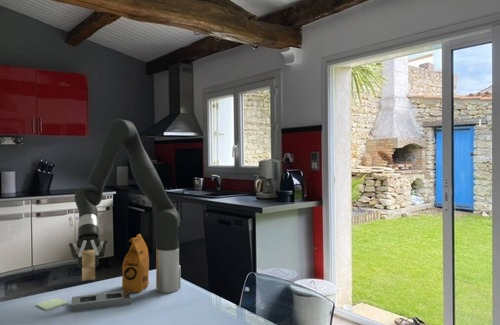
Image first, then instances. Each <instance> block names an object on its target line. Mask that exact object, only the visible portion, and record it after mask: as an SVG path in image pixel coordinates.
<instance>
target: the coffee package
mask: <svg viewBox="0 0 500 325" xmlns="http://www.w3.org/2000/svg"><path fill="white" fill-rule="evenodd" d="M128 242H130V243H131V245H130V247H129V250H128V252H127V253H126V254H125V256H124V259H123V262H122V265H121V266H122V267H121V268H122V280H121V281H122V283H121V290H122V291H127V290H128V292H129V293H134V294H135V293H142V292H143V291H144V289H147V288H148V286H149V284H150V283H149V282H150V281H149V270H150V257H149V249H148V246H147V243H146V242H145V240H144V238H143V236H142V235H141V233H138V234H136V236H135V237H131V238H129V240H128Z"/></svg>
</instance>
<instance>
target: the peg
mask: <svg viewBox="0 0 500 325" xmlns="http://www.w3.org/2000/svg"><path fill="white" fill-rule="evenodd" d="M89 280H91V281H92V280H96V268H95V250H84V251H82V269H81V281H89Z"/></svg>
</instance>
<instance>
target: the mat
mask: <svg viewBox="0 0 500 325" xmlns="http://www.w3.org/2000/svg"><path fill="white" fill-rule="evenodd" d="M66 305H69V302H68V301H66V300H63V299H61V298H60V297H56V298H51V299H49V300H45V301H42V302H39V303H35V306H36V307H37V308H40V309H42V310H45V311H50V310H54V309H56V308H60V307H63V306H66Z"/></svg>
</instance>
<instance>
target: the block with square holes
mask: <svg viewBox="0 0 500 325" xmlns="http://www.w3.org/2000/svg"><path fill="white" fill-rule="evenodd" d="M128 305H129V306H130V305H131V295H130V292H128V290H127V291H123V290H119V291H112V292H105V293H104V292H103V293H95V294H87V295H86V294H85V295H78V296H77V295H76V296H72V297H71V305H70V308H71V311H70V312H71V313H75V312H77V313H78V312H84V311H91V310H99V309H106V308H107V309H108V308H114V307H115V308H116V307H120V306H121V307H123V306H128Z"/></svg>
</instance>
